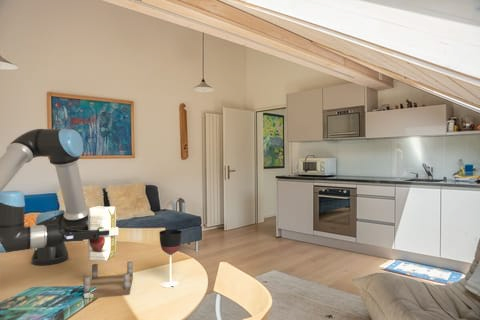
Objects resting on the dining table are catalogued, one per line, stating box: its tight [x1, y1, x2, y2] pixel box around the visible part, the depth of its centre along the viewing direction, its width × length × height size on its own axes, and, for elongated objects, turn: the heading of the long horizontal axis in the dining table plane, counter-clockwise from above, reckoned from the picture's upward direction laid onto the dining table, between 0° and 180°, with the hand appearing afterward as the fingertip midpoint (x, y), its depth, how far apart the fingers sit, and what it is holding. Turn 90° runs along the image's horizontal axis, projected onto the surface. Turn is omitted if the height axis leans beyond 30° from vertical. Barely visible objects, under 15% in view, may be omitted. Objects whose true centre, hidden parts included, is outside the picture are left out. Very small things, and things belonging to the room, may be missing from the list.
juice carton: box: [87, 205, 117, 262], centre depth 120 cm, size 8×9×19 cm
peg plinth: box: [83, 260, 134, 299], centre depth 121 cm, size 16×15×7 cm
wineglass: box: [159, 229, 182, 288], centre depth 125 cm, size 8×9×20 cm
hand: (115, 228), depth 122 cm, fingers closed on juice carton, 9 cm apart
